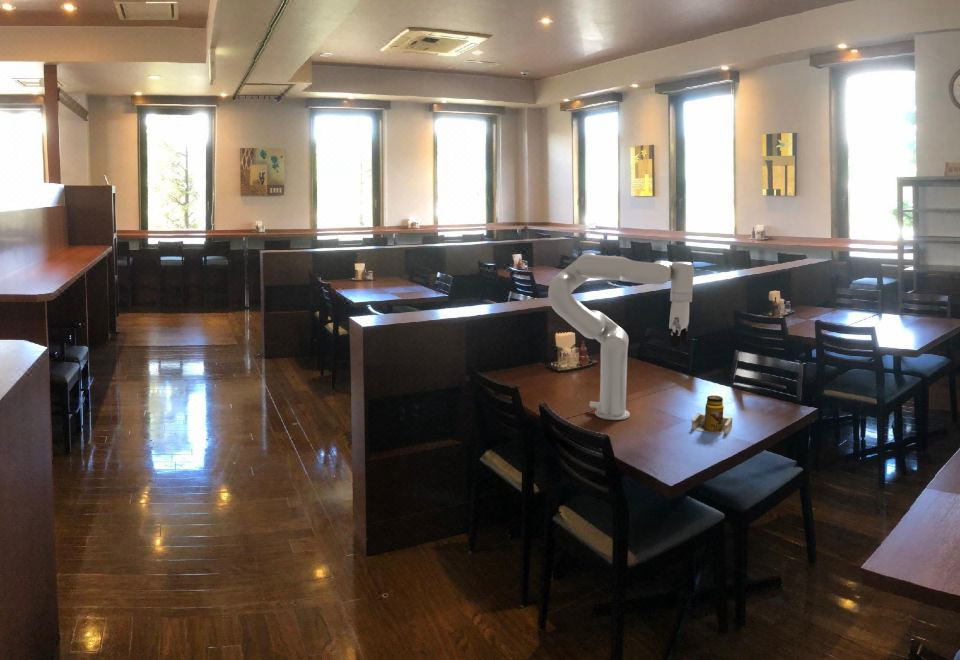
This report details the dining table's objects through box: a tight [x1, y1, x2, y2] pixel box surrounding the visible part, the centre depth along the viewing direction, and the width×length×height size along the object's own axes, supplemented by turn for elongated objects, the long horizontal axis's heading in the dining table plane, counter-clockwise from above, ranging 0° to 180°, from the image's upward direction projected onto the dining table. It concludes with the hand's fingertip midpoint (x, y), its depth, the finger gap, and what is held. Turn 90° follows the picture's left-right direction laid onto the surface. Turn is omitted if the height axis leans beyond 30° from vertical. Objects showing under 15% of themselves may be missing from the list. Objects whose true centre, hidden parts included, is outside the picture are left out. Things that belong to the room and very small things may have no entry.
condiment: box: [696, 394, 724, 435], centre depth 266 cm, size 7×8×12 cm
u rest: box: [691, 412, 733, 436], centre depth 268 cm, size 12×9×4 cm
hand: (678, 344), depth 273 cm, fingers open, 9 cm apart
